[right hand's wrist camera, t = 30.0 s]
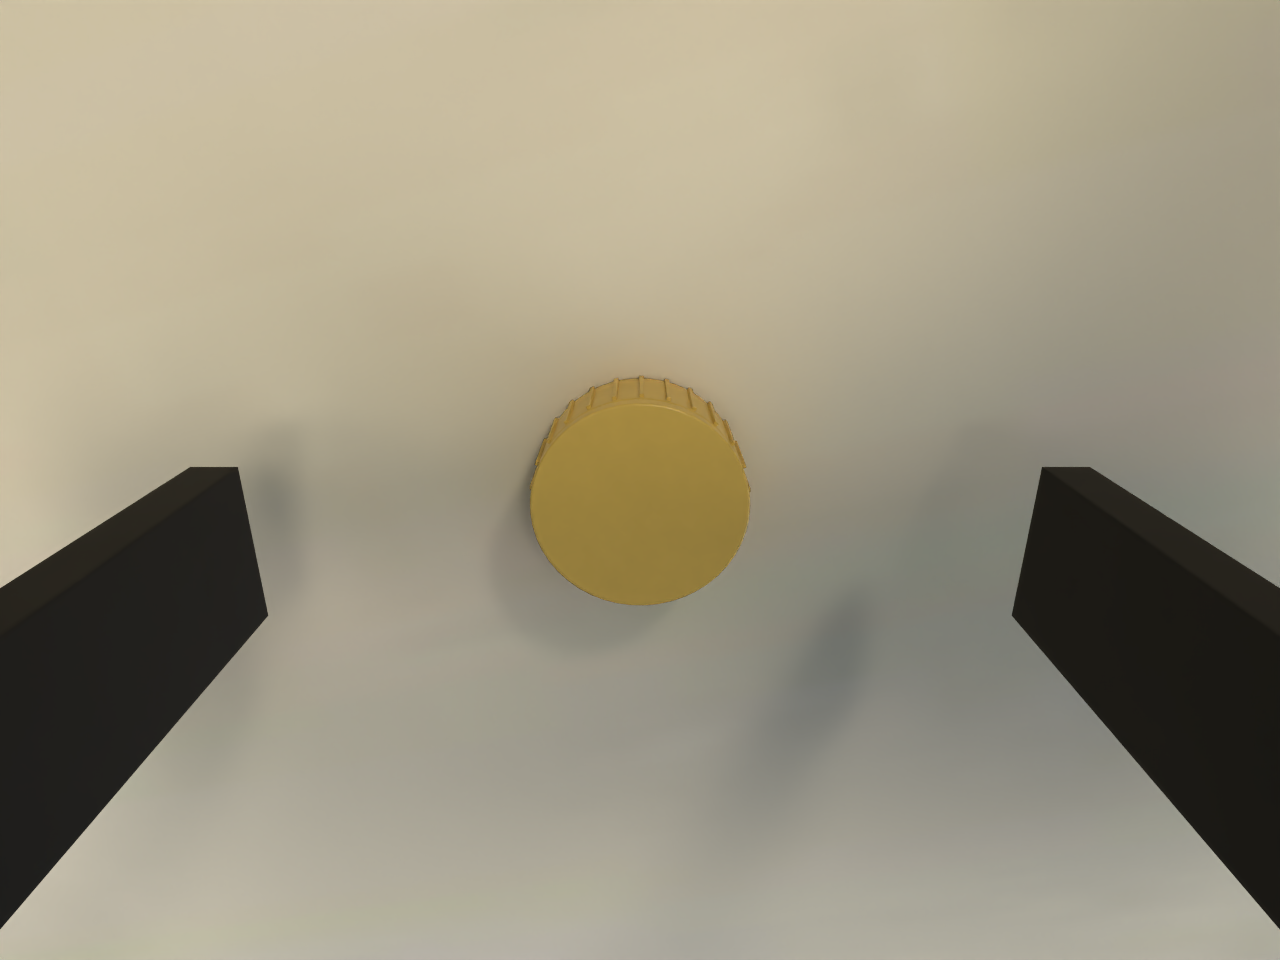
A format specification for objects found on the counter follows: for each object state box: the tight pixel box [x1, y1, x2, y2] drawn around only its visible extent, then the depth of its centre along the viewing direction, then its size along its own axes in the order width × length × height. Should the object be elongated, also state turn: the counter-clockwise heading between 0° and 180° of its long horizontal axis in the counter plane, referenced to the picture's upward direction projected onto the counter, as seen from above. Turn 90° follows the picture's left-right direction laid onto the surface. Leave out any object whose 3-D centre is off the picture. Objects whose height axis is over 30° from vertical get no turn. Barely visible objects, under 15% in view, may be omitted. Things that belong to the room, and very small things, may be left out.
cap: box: [530, 376, 751, 605], centre depth 15 cm, size 4×4×2 cm
